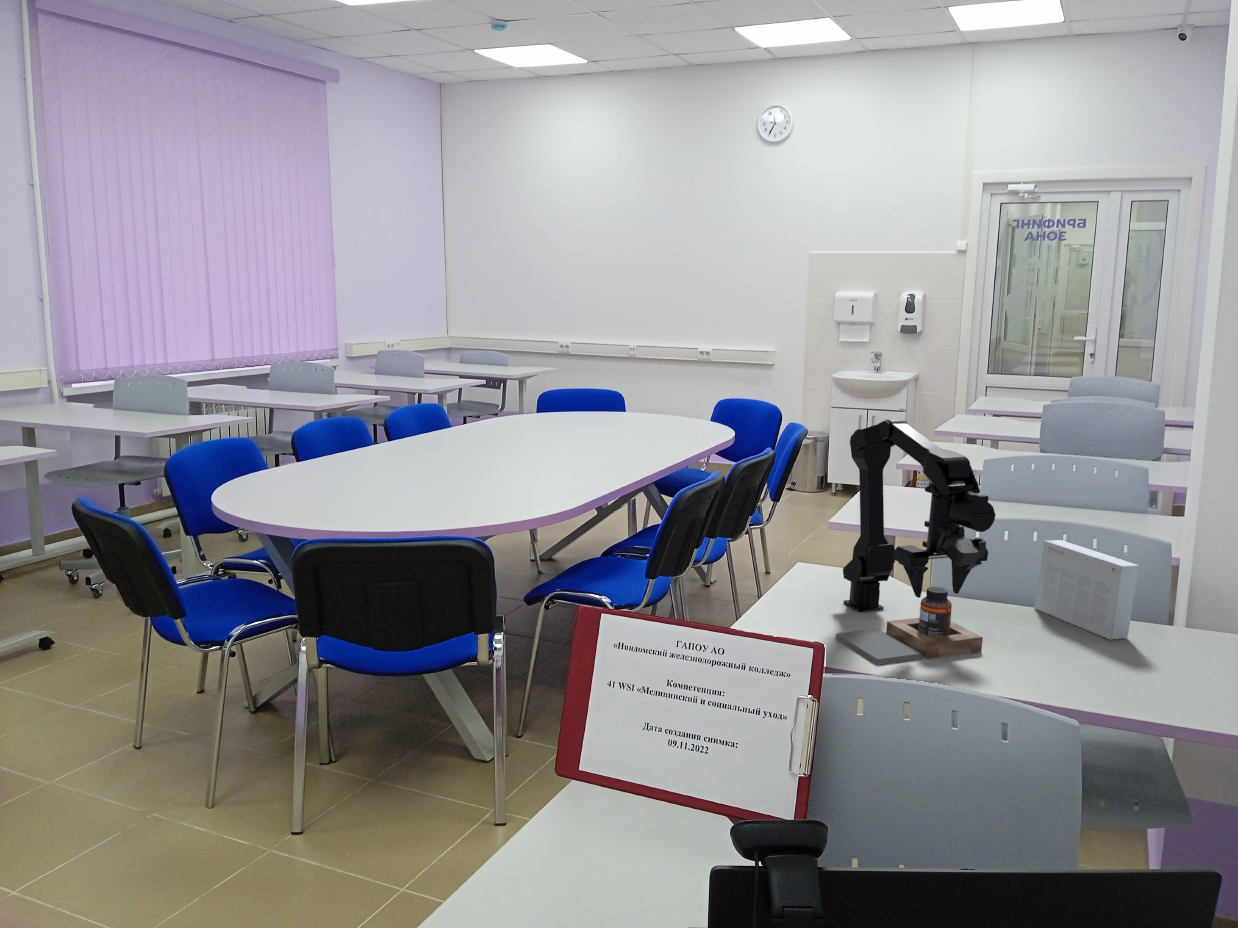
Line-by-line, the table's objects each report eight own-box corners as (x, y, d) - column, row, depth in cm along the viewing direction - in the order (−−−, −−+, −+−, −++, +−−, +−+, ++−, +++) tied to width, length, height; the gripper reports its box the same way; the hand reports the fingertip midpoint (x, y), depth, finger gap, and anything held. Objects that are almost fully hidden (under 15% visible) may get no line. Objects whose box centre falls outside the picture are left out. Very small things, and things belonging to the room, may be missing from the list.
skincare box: (1130, 638, 202) (1140, 564, 199) (1110, 641, 200) (1120, 566, 197) (1051, 605, 221) (1060, 538, 218) (1033, 608, 219) (1041, 539, 216)
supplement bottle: (942, 638, 199) (947, 584, 197) (952, 649, 193) (958, 594, 191) (913, 637, 199) (918, 584, 196) (922, 648, 193) (928, 593, 191)
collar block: (885, 635, 199) (887, 621, 199) (937, 628, 204) (939, 615, 204) (926, 658, 188) (928, 643, 187) (981, 651, 192) (982, 636, 192)
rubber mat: (835, 638, 197) (835, 633, 197) (877, 633, 200) (877, 628, 200) (877, 664, 184) (877, 659, 184) (920, 658, 188) (921, 653, 187)
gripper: (932, 532, 180) (924, 613, 183) (1012, 526, 187) (1003, 604, 190) (895, 517, 190) (888, 594, 194) (972, 512, 197) (964, 586, 200)
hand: (936, 595), depth 194 cm, fingers open, 9 cm apart
